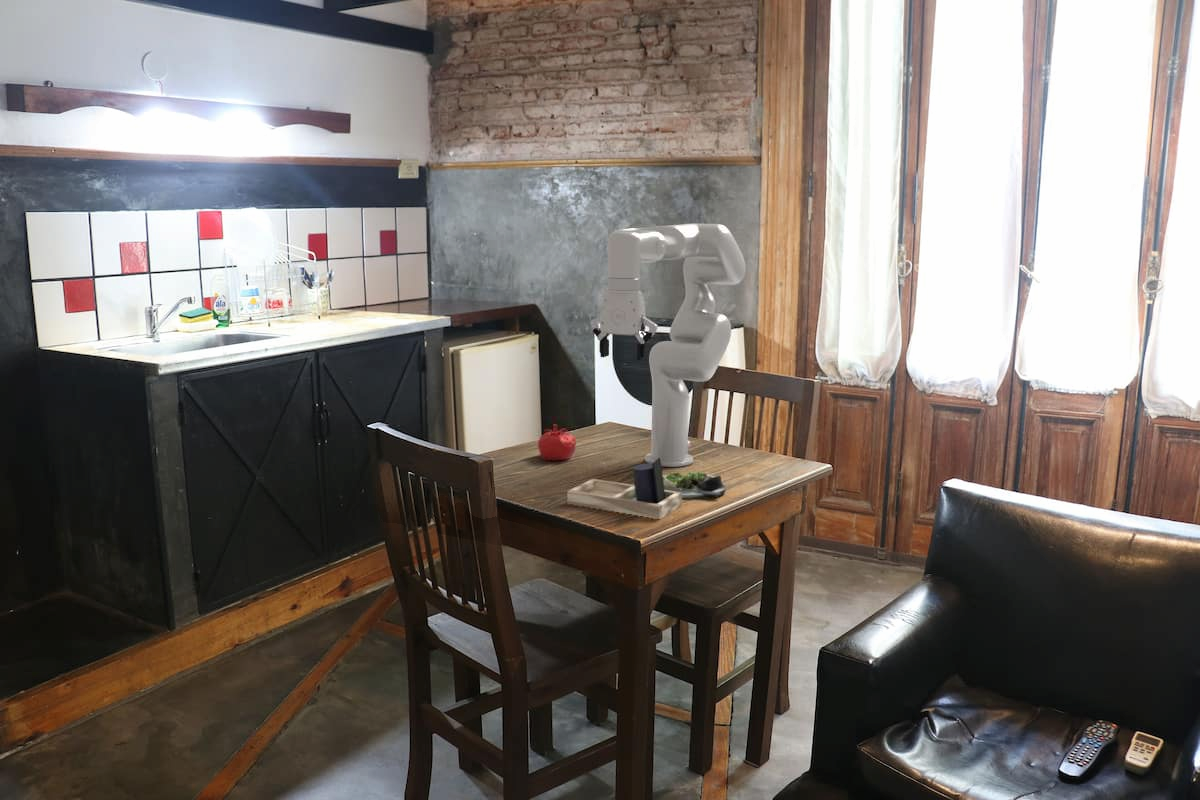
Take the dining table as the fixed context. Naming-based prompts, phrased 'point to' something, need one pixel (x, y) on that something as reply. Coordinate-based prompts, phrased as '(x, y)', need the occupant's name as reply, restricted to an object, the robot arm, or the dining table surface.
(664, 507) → the sorting tray
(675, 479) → the avocado toast plate
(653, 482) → the speaker
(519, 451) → the dining table surface
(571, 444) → the pomegranate
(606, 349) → the robot arm
